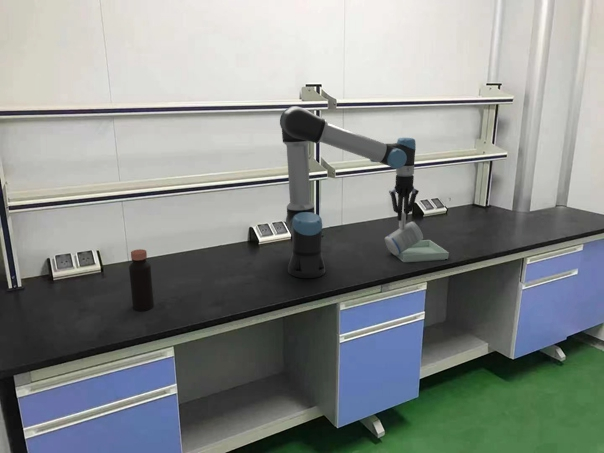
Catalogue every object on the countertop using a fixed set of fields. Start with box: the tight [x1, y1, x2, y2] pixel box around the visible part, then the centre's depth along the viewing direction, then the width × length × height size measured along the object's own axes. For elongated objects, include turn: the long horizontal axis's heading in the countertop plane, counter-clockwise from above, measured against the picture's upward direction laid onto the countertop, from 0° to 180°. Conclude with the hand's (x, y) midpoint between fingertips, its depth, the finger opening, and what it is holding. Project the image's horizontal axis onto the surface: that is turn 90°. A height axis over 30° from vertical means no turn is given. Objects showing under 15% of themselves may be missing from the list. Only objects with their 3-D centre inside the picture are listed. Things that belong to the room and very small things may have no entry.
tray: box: [387, 239, 450, 264], centre depth 222 cm, size 21×18×3 cm
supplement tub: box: [384, 221, 424, 256], centre depth 219 cm, size 10×10×15 cm
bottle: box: [128, 248, 155, 312], centre depth 164 cm, size 7×7×20 cm
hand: (402, 227), depth 216 cm, fingers closed
